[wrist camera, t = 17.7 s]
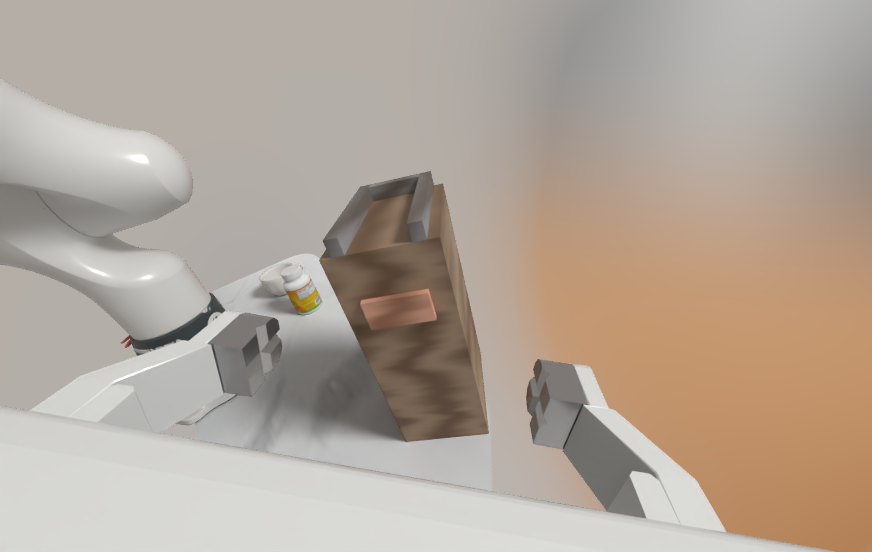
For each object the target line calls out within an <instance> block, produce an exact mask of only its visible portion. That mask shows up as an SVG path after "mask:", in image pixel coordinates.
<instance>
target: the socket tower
mask: <svg viewBox="0 0 872 552" xmlns="http://www.w3.org/2000/svg"><path fill="white" fill-rule="evenodd" d="M323 243H324V245H325V247H326V251H325V252H324V254H323V255H322V257H321V258H320V260H319V261H320V263H321V265H322V267H323V269H324V271H325V273H326V276H327V278H328V280H329V282H330V284H331V286H332V288H333V290H334V292H335V294H336V296H337V298H338V300H339V303H340V305H341V307H342V309H343V311H344V313H345V315H346V317H347V319H348V321H349V323H350V325H351V327H352V330H353V332H354V334H355V336H356V338H357V340H358V342H359V344H360V346H361V348H362V350H363V352H364V354H365V357H366V359H367V361H368V363H369V365H370V367H371V369H372V371H373V373H374V375H375V377H376V379H377V381H378V384H379V386H380V388H381V390H382V392H383V394H384V396H385V398H386V400H387V402H388V404H389V406H390V408H391V411H392V413H393V415H394V417H395V419H396V421H397V423H398V425H399V427H400V429H401V431H402V433H403V435H404V438H405V440H406V442H409V441H419V440H429V439H439V438H449V437H459V436H469V435H479V434H489V431H488V421H487V412H486V402H485V392H484V383H483V373H482V364H481V354H480V348H479V344H478V339H477V335H476V331H475V326H474V321H473V317H472V312H471V308H470V303H469V299H468V294H467V290H466V285H465V281H464V276H463V272H462V267H461V263H460V259H459V254H458V249H457V245H456V240H455V236H454V232H453V227H452V222H451V218H450V213H449V209H448V204H447V200H446V195H445V191H444V186H443V184H439V185H434V184H433V179H432V175H431V171H429V172H425V173H420V174H416V175H411V176H407V177H403V178H398V179H393V180H389V181H385V182H380V183H375V184H371V185H367V186H363V187H360V188H359V189H358V191H357V192H356V194H355V195H354V197H353V198H352V199H351V201H350V202H349V204H348V205H347V206H346V208H345V209H344V211H343V212H342V214H341V215H340V217H339V218H338V219H337V221H336V222H335V224H334V225H333V227H332V228H331V229H330V231H329V232H328V234H327V235H326V237H325V238H324V240H323Z"/></svg>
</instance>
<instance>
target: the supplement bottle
mask: <svg viewBox="0 0 872 552" xmlns="http://www.w3.org/2000/svg"><path fill="white" fill-rule="evenodd" d="M280 274H281V276H282V278H283V280H284V281H285V282H284V284H283V287H284V289H285V291H286V293H287V294H288V296H289V298H290V300H291V301H292V303H293V305H294V307H295V308H296V310H297V312H298V313H299V314H301V315H307V314H311V313H313V312H315V311H316V310H318V309H319V308H320V307H321V305H322V300H321V297H320V296H319V294H318V292H317V290H316V288H315V286H314V284H313V282H312V280H311V278H310V276H309V275H308V274H307V273H303V271H302V268H301V267H300V265H298V264H295V265H291V266H288V267H286V268H285V269H283V270H282V271H281V273H280Z"/></svg>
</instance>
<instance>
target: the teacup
mask: <svg viewBox="0 0 872 552" xmlns="http://www.w3.org/2000/svg"><path fill="white" fill-rule="evenodd" d="M291 265H293V264H292V263H282V264H279V265H276V266H274V267H271V268H270V269H268V270H266V271H265V272H264V273H263V274H262V275H261V276H260V278H259V279H260V281H261V282H262V284H263V285H264V286H265V288H266V289H267V290H268V291H269V292H270V293H271V294H273V295H277V296H283V295H286V294H287V293H286V291H285V289H284V287H283V284H284V282H285V281H284V280H283V278H282V276H281V274H280V273H281V271H282V270H283V269H285V268H286V267H288V266H291ZM298 265H300V266H302V271H303V272H304V266H303V265H302V264H298Z"/></svg>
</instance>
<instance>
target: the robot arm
mask: <svg viewBox="0 0 872 552" xmlns="http://www.w3.org/2000/svg"><path fill="white" fill-rule="evenodd" d="M192 189H193V179H192V175H191V171H190V169H189V167H188V165H187V163H186V161H185V160H184V158H183V157H182V156H181V154H180V153H179V152H178V151H177V150H176V149H175V148H174V147H172V146H171V145H170V144H169V143H167V142H166V141H164V140H163V139H161V138H160V137H158V136H156V135H154V134H152V133H149V132H147V131H141V130H132V129H124V128H118V127H113V126H109V125H105V124H101V123H98V122H94V121H91V120H88V119H85V118H82V117H79V116H76V115H74V114H70V113H68V112H66V111H63V110H60V109H58V108H56V107H53V106H51V105H49V104H46V103H44V102H42V101H40V100H38V99H36V98H34V97H32V96H30V95H27V94H26V93H23V92H22V91H20V90H18V89H17V88H15V87H14V86H12V85H10V84H9V83H7V82H6V81H4V80H2V79H1V78H0V265H8V266H12V267H18V268H22V269H25V270H29V271H33V272H36V273H39V274H42V275H45V276H47V277H50V278H52V279H55V280H58V281H60V282H62V283H64V284H66V285H69V286H70V287H72V288H74V289H76V290H78V291H79V292H81V293H83V294H84V295H86V296H87V297H89V298H90V299H92V300H93V301H94V302H95V303H97V304H98V305H99V306H100V307H101V308H102V309H104V310H105V311H106V312H107V313H108V314H109V315H110V316H111V317H112V318H113V319H114V320H115V321H117V323H118V324H119V325H120V326H121V327H122V328H124V329H125V331H127V333H128V334H129V336H128V337H127V338H126V339H125V340H123V341H122V342H121V344H122V343H124V342H125V341H127V340H128V339H130V340H129V341H128V343H127V344H126V346H125V348H127V347H128V346H129V345H131V344H132V345H133V348H134V350H135V352H136V354H137V357H134V358H131V359H128V360H125V361H122V362H119V363H117V364H113V365H111V366H108V367H105V368H102V369H99V370H96V371H94V372H90V373H87V374H85V375H82V376H80V377H78V378H77V379H75V380H74V381H72V382H71V383H69V384H68V385H67V386H65V387H64V388H62V389H61V390H59V391H58V392H56V393H55V394H53V395H52V396H50V397H49V398H48V399H46V400H45V401H43V402H42V403H40V404H39V405H38V406H36V407H34V408H33V409H31V410H30V411H29V410H24V409H17V408H12V407H6V406H1V405H0V552H836V551H830V550H823V549H818V548H813V547H806V546H801V545H795V544H789V543H784V542H777V541H772V540H766V539H760V538H755V537H749V536H743V535H738V534H732V533H727V532H726V531H725V529H724V527H723V526H722V524H721V522H720V520H719V519H718V517H717V515H716V513H715V512H714V510H713V508H712V506H711V505H710V503H709V501H708V500H707V498H706V496H705V495H704V493H703V491H702V489H701V488H700V486H699V484H698V482H697V481H696V480H695V479H694V478H693V477H692V476H690V475H689V474H688V473H687V472H686V471H685V470H683V469H682V468H681V467H680V466H679V465H678V464H677V463H675V462H674V461H673V460H672V459H671V458H669V457H668V456H667V455H666V454H665V453H664V452H663V451H661V450H660V449H659V448H658V447H657V446H656V445H655V444H653V443H652V442H651V441H650V440H649V439H648V438H646V437H645V436H644V435H643V434H641V432H639V431H638V430H637V429H636V428H635V427H634V426H632V425H631V424H630V423H629V422H628V421H626V419H624V418H623V417H622V416H621V415H619V413H617V412H616V411H615V410H613V409H609V408H608V406H607V404H606V401H605V399H604V397H603V395H602V392H601V390H600V388H599V386H598V383H597V381H596V379H595V376H594V374H593V372H592V370H591V368H590V367H589V366H584V365H576V364H566V363H560V362H553V361H546V360H540V359H538V360H537V361H536V363H535V366H534V369H533V370H534V375H535V377H533V378H532V379H531V380H530V381H529V385H528V388H527V396H526V400H527V410H528V412H529V413H530V414H531V416H532V419H531V422H530V428H531V434H532V439H533V444H536V445H542V446H547V447H552V448H557V449H562V450H563V452H564V453H565V455H566V456H567V457H568V459H569V460H570V461H571V463H572V464H573V466H574V467H575V468H576V470H577V471H578V472H579V474H580V475H581V476H582V478H583V479H584V481H585V482H586V483H587V485H588V486H589V487H590V489H591V490H592V491H593V493H594V494H595V496H596V497H597V498H598V500H599V501H600V502H601V504H602V505H603V506H604V508H605V509H606V511H607V512H606V511H601V510H595V509H589V508H584V507H578V506H572V505H567V504H561V503H555V502H550V501H544V500H537V499H532V498H526V497H521V496H515V495H509V494H504V493H498V492H493V491H487V490H481V489H475V488H470V487H464V486H458V485H452V484H447V483H441V482H435V481H430V480H424V479H418V478H412V477H407V476H401V475H395V474H390V473H384V472H378V471H372V470H367V469H361V468H355V467H350V466H344V465H338V464H332V463H327V462H321V461H315V460H310V459H304V458H298V457H293V456H287V455H281V454H275V453H270V452H264V451H258V450H252V449H247V448H241V447H235V446H230V445H224V444H218V443H212V442H207V441H201V440H195V439H189V438H184V437H178V436H172V435H167V434H161V432H162V431H164V430H166V429H167V428H169V427H171V426H172V425H174V424H181V425H191V424H193V423H195V422H197V421H198V420H199V419H201V418H202V417H203V416H205V415H206V414H207V413H208V412H209V411H211V410H212V409H213V408H215V407H217V406H219V405H220V404H222V403H224V402H226V401H227V400H229V399H231V398H232V397H234V396H235V395H243V396H251V397H252V396H253V395H254V393H255V392H256V391H257V390H258V388H259V387H260V386H261V384H262V383H263V382H264V380H265V379H264V374H265V373H267V372H269V371H271V370H273V369H274V367H275V366H276V365H277V363H278V361H279V358H280V356H281V351H282V343H281V340H280V338H279V337H278V336H277V335H276V333H277V332H278V331H279V329H280V328H279V322H278V320H277V319H275V318H272V317H267V316H261V315H256V314H250V313H243V312H238V311H232V310H229V311H225V309H224V308H223V307H222V305H221V304H220V301H219V300H218V299H217V298H216V297H215V296H214V295H213V294H211V293H208V292H207V290H206V289H205V287H204V286H203V285H202V283H201V282H200V280H199V279H198V278H197V276H196V275H195V274H194V272H193V271H192V270H191V268H190V267H189V265H188V264H187V263H186V261H185V260H183V259H182V258H181V257H179V256H177V255H176V254H174V253H172V252H169V251H165V250H158V249H144V248H139V247H135V246H132V245H129V244H127V243H125V242H123V241H121V240H119V239H118V238H116V237H115V236H114V235H113V233H116V232H119V231H122V230H125V229H129V228H132V227H135V226H138V225H141V224H144V223H147V222H150V221H153V220H157V219H159V218H161V217H162V216H164V215H166V214H168V213H170V212H172V211H174V210H175V209H177V208H179V207H180V206H182V205H184V204H186V203H187V202H189V200H190V198H191V195H192Z"/></svg>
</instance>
